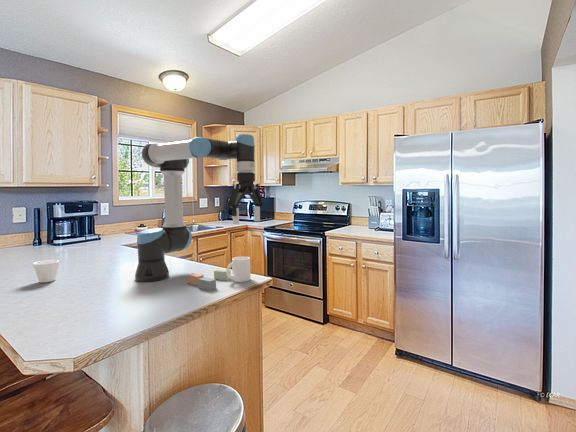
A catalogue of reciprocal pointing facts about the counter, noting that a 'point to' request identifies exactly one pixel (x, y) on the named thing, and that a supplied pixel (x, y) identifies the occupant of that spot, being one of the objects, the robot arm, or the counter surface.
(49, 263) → the cup
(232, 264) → the mug
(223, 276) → the sage brick
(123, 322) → the counter surface
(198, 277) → the terracotta brick
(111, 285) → the counter surface
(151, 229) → the robot arm
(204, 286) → the slate brick
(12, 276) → the counter surface
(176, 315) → the counter surface
